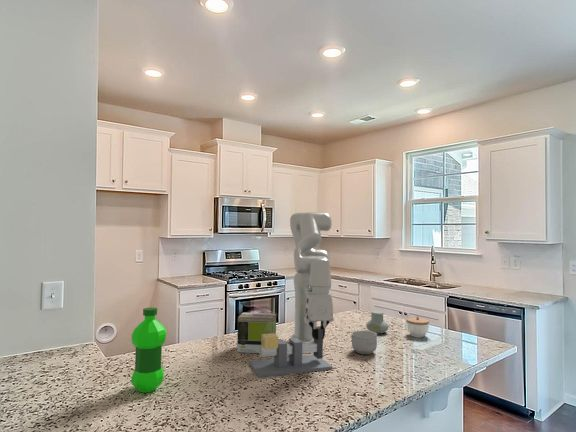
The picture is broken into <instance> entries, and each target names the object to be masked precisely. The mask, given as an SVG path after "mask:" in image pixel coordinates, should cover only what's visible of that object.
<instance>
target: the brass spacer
mask: <svg viewBox="0 0 576 432" xmlns="http://www.w3.org/2000/svg"><path fill="white" fill-rule="evenodd" d="M278 339H280V338H279V335H277V333H276V334H275V333H271V334H262V336H261V345H262V346H263V348H264V349H273V348H278Z"/></svg>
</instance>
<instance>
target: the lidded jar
mask: <svg viewBox="0 0 576 432" xmlns="http://www.w3.org/2000/svg"><path fill="white" fill-rule="evenodd" d="M405 322H406V323H405V324H406V329H407V331H408V333H409V334H410V336H411V337H414V338H424V337H425V335H427V333H428V331H429V328H430V326H429V324H430V321H429V319H426V318H422V317H420V316H416V317H412V316H411V317H407V318H406V321H405Z"/></svg>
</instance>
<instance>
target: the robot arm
mask: <svg viewBox="0 0 576 432" xmlns="http://www.w3.org/2000/svg"><path fill="white" fill-rule="evenodd" d="M332 225H333V223H332V218H331V216H330V214H329V213H327V212H314V211H313V212H310V211H307V212H296V213H295V212H294V213H293V214H292V215H291V216H290V218H289V226H290V230H291V234H292V237H293V239H294V244H295V247H294V251H293V261H294V262H293V263H294V268H295V269H294V270H295V272H296V273H295V274H294V277H293V286H294V330H293V331H294V332H293V333H294V334H292V335H291V336H290V338H298V339H299V340H300V341H302V342H313V341H314V339H315V340H317V339H318V329H317V327H318V326H317V325H318V322H320V326H319V327H320V328H322V329H323V340H325V336H326V329H327V326H328V325H329V324H330V323H333V322H334V304H333V298H332V296H333V295H332V294H331V293H330V290H331V287H332V276H331V261H330V255H329V253H328V252H327V251H326V250H324V249H314V248H315V247H317V246H318V245H320V243H321V242H322V235H321V234H322V233H321V232H329V231H330V230H331V228H332Z"/></svg>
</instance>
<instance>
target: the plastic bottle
mask: <svg viewBox="0 0 576 432" xmlns="http://www.w3.org/2000/svg"><path fill="white" fill-rule="evenodd" d="M142 310H143V311H142V316H144V320H142V321H141V322H140V323H139V324H138V325H137V326H136V327H134V329H133V331H132V333H131V342H132V343H131V344H132V345H133V346H134V347H135V356H134V357H135V358H134V369H133V373H132V376H131V381H130V383H131V384H132V386H133V387H134V388H136V390H138V391H139V392H140V393H152V392H153V391H155V390H157V388H159V386H161V385H162V383H163V381H164V376H165V371H164V369H163V366H162V351H163V349H162V348H163V344H164V343H165V342H166V338H167V328H166V326H164V325H163V324H162V323H161V322H159V321H158V320H157V319H156V316H157V315H158V308H157V307H152V306H151V307H145V308H143V309H142Z"/></svg>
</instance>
